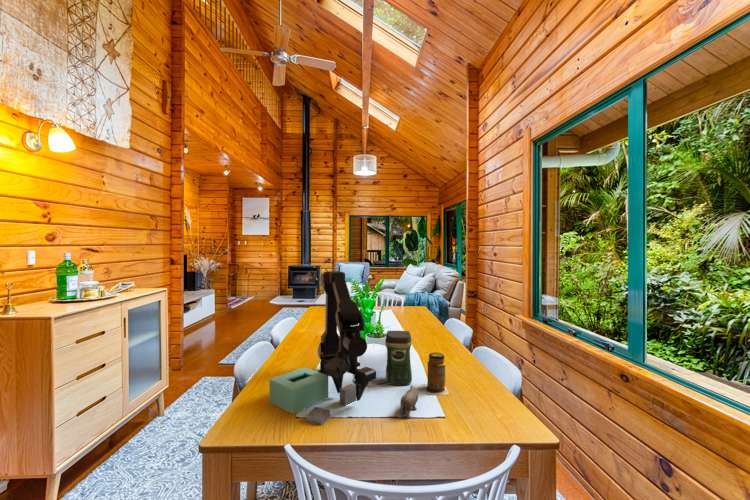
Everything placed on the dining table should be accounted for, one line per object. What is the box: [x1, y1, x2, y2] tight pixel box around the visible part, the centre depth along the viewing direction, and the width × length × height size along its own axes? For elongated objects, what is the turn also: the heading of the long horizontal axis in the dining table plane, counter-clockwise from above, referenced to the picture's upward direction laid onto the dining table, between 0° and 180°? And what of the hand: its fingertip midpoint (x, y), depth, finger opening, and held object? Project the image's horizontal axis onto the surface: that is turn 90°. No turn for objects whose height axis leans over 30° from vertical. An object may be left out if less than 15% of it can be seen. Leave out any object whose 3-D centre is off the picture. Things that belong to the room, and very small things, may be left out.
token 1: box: [305, 406, 331, 426], centre depth 101 cm, size 5×5×2 cm
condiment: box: [423, 351, 450, 396], centre depth 121 cm, size 7×8×12 cm
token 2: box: [339, 383, 357, 407], centre depth 111 cm, size 5×2×5 cm, turn 140°
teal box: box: [268, 366, 329, 415], centre depth 113 cm, size 14×12×7 cm
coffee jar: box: [384, 330, 413, 386], centre depth 128 cm, size 10×8×19 cm
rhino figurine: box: [400, 384, 421, 420], centre depth 108 cm, size 4×14×6 cm, turn 158°
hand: (348, 396), depth 111 cm, fingers open, 8 cm apart
